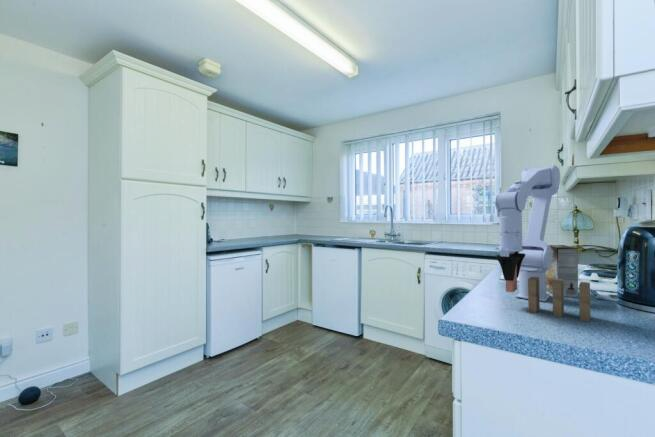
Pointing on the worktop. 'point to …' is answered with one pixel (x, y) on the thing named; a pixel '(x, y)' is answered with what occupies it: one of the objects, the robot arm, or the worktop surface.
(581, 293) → the domino
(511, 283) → the domino
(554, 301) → the domino
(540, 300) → the robot arm
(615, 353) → the worktop surface
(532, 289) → the domino
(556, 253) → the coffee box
